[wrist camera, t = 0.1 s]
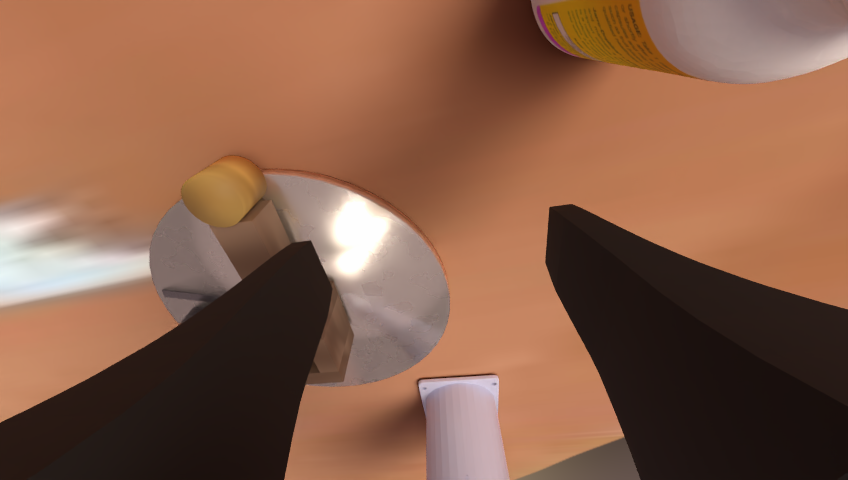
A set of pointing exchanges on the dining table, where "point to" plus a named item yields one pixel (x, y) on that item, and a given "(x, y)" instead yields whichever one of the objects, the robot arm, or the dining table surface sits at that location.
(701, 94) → the dining table surface
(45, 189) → the dining table surface
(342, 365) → the knob-topped wooden stand
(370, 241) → the plate
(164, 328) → the dining table surface
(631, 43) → the supplement bottle
